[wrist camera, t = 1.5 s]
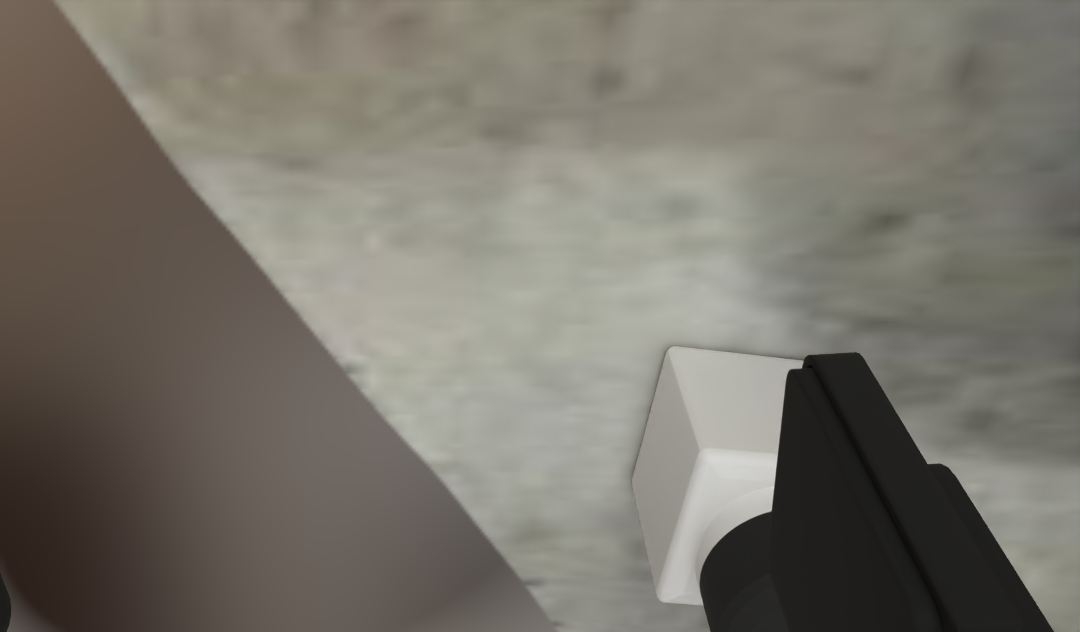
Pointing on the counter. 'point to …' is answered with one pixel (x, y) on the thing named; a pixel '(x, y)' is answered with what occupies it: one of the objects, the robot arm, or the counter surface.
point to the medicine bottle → (713, 484)
